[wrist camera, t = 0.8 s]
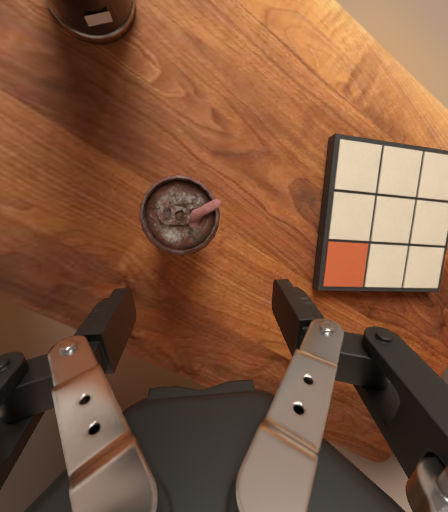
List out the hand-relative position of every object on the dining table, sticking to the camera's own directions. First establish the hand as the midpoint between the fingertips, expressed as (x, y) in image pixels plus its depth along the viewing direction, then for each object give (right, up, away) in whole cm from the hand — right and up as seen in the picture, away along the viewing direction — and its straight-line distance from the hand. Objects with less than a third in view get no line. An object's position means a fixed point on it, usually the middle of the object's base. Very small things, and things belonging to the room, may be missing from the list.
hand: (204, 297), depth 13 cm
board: (+26, +8, +23) cm, 36 cm away
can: (-4, +7, +18) cm, 19 cm away
